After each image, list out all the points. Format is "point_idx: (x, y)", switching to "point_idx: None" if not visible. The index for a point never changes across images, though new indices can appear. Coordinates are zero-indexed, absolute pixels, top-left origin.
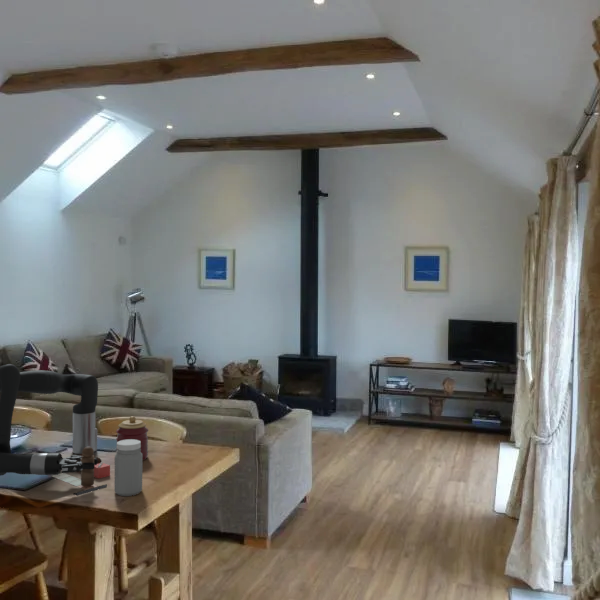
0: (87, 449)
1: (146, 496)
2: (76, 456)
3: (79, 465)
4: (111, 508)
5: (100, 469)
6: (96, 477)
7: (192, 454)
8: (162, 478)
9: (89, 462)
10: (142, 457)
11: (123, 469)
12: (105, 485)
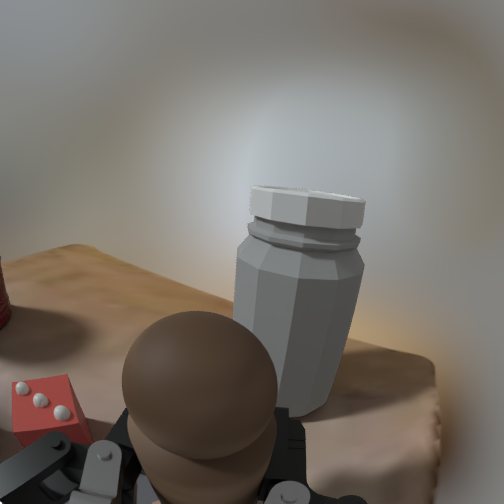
0: (260, 348)
1: None
2: (13, 490)
3: (355, 500)
4: (428, 406)
5: (78, 419)
6: None
7: (54, 266)
8: None
9: None
10: (9, 305)
11: (354, 309)
12: None
